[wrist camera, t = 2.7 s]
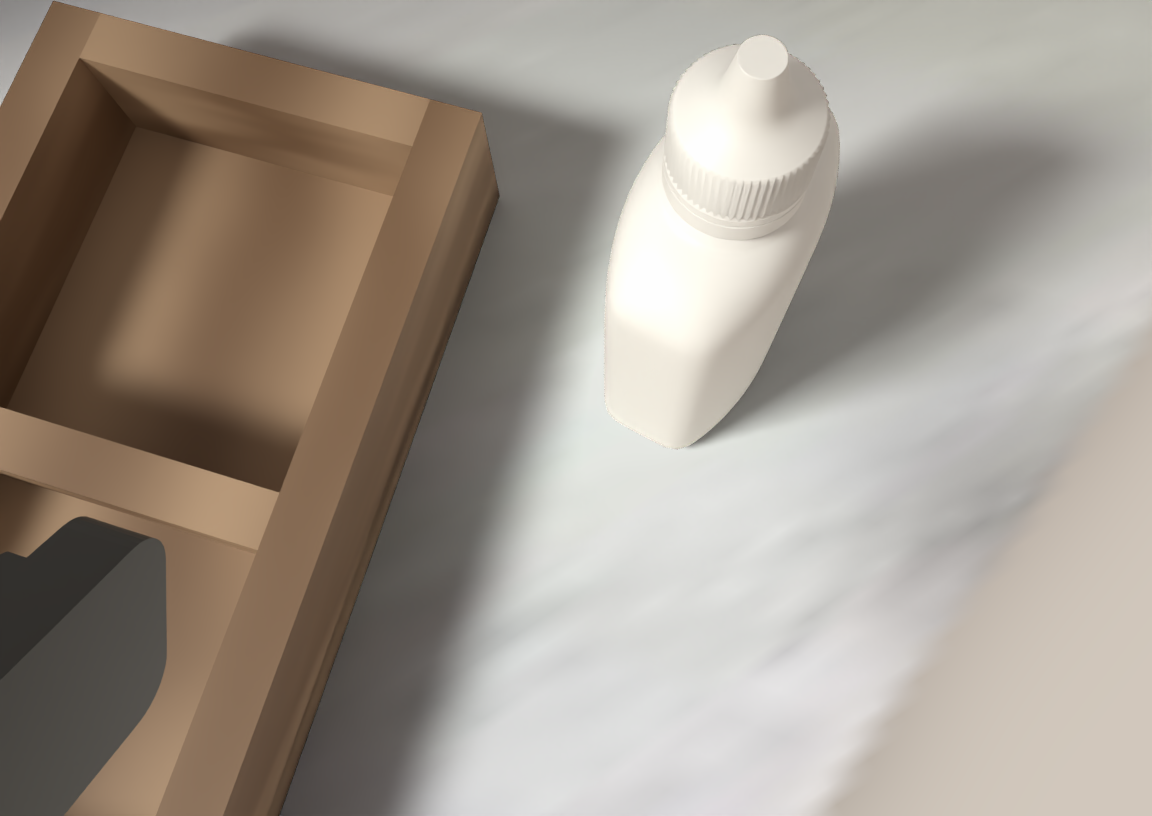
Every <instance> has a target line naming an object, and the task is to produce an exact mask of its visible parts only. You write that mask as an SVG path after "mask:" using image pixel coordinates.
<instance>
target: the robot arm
mask: <svg viewBox="0 0 1152 816" xmlns="http://www.w3.org/2000/svg"><path fill="white" fill-rule="evenodd" d="M166 659H167V613H166V553H165V549H164V546H163V544H162V542H161V541H160V540H158V539H155V538H152V537H149V536H146V535H143V534H140V533H137V532H134V531H131V530H127V529H124V528H121V527H118V526H115V525H112V524H109V523H105V522H102V521H99V520H96V519H93V518H90V517H87V516H80V517H77V518H74V519H72V520H70V521H69V522H67V523H66V524H65V525H63V526H62V527H61V528H60V529H59V530H57V531H56V532H55V533H54V534H53V535H52V536H51V537H49V538H48V539H47V540H46V541H45V542H44V543H43V544H41V545H40V546H39V547H38V548H37V549H36V550H35V551H33V552H32V553H31V554H30V555H29V556H28V557H27V558H26V557H23V556H20V555H17V554H14V553H11V552H8V551H7V552H4V553H2V554H0V816H64V815H65V814H66V812H67V811H68V810H69V809H70V807H71V806H72V805H73V804H74V802H75V801H76V800H77V799H78V797H79V796H80V795H81V794H82V793H83V791H84V790H85V789H86V788H87V786H88V785H89V784H90V783H91V781H92V780H93V779H94V778H95V776H96V775H97V774H98V773H99V772H100V770H101V769H102V768H103V767H104V765H105V764H106V763H107V762H108V760H109V759H110V758H111V757H112V755H113V754H114V753H115V752H116V751H117V749H118V748H119V747H120V746H121V744H122V743H123V742H124V741H125V739H126V738H127V737H128V736H129V734H130V733H131V732H132V731H133V729H134V728H135V727H136V726H137V725H138V723H139V722H140V721H141V719H142V718H143V717H144V715H145V713H146V712H147V710H148V709H149V707H150V705H151V703H152V702H153V700H154V697H155V695H156V693H157V691H158V688H159V686H160V683H161V680H162V677H163V674H164V670H165V665H166Z"/></svg>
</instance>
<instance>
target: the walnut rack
mask: <svg viewBox="0 0 1152 816" xmlns="http://www.w3.org/2000/svg"><path fill="white" fill-rule="evenodd" d="M498 199H499V191H498V186H497V182H496V177H495V172H494V168H493V163H492V158H491V154H490V149H489V144H488V140H487V135H486V130H485V126H484V121H483V116H482V113H481V112H477V111H473V110H469V109H465V108H462V107H458V106H454V105H450V104H446V103H443V102H439V101H435V100H431V99H427V98H423V97H420V96H416V95H412V94H408V93H404V92H400V91H397V90H393V89H389V88H385V87H381V86H377V85H374V84H370V83H366V82H362V81H358V80H355V79H351V78H347V77H343V76H339V75H335V74H332V73H328V72H324V71H320V70H316V69H312V68H309V67H305V66H301V65H297V64H293V63H289V62H286V61H282V60H278V59H274V58H270V57H267V56H263V55H259V54H255V53H251V52H247V51H244V50H240V49H236V48H232V47H228V46H224V45H221V44H217V43H213V42H209V41H205V40H202V39H198V38H194V37H190V36H186V35H182V34H179V33H175V32H171V31H167V30H163V29H159V28H156V27H152V26H148V25H144V24H140V23H136V22H133V21H129V20H125V19H121V18H117V17H114V16H110V15H106V14H102V13H98V12H94V11H91V10H87V9H83V8H79V7H75V6H71V5H68V4H64V3H60V2H56V1H53V2H52V4H51V6H50V8H49V10H48V12H47V14H46V16H45V18H44V20H43V22H42V24H41V26H40V28H39V30H38V32H37V34H36V36H35V38H34V40H33V42H32V44H31V46H30V48H29V50H28V52H27V54H26V56H25V58H24V60H23V62H22V64H21V66H20V68H19V70H18V72H17V74H16V76H15V78H14V80H13V82H12V85H11V87H10V89H9V91H8V93H7V95H6V97H5V99H4V101H3V103H2V105H1V107H0V554H2V553H4V552H7V551H8V552H11V553H14V554H17V555H20V556H23V557H26V558H27V557H28V556H29V555H30V554H31V553H32V552H33V551H35V550H36V549H37V548H38V547H39V546H40V545H41V544H43V543H44V542H45V541H46V540H47V539H48V538H49V537H51V536H52V535H53V534H54V533H55V532H56V531H57V530H59V529H60V528H61V527H62V526H63V525H65V524H66V523H67V522H69V521H70V520H72V519H74V518H77V517H80V516H87V517H90V518H93V519H96V520H99V521H102V522H105V523H109V524H112V525H115V526H118V527H121V528H124V529H127V530H131V531H134V532H137V533H140V534H143V535H146V536H149V537H152V538H155V539H158V540H160V541H161V542H162V544H163V546H164V549H165V553H166V613H167V659H166V665H165V670H164V674H163V677H162V680H161V683H160V686H159V688H158V691H157V693H156V695H155V697H154V700H153V702H152V703H151V705H150V707H149V709H148V710H147V712H146V713H145V715H144V717H143V718H142V719H141V721H140V722H139V723H138V725H137V726H136V727H135V728H134V729H133V731H132V732H131V733H130V734H129V736H128V737H127V738H126V739H125V741H124V742H123V743H122V744H121V746H120V747H119V748H118V749H117V751H116V752H115V753H114V754H113V755H112V757H111V758H110V759H109V760H108V762H107V763H106V764H105V765H104V767H103V768H102V769H101V770H100V772H99V773H98V774H97V775H96V776H95V778H94V779H93V780H92V781H91V783H90V784H89V785H88V786H87V788H86V789H85V790H84V791H83V793H82V794H81V795H80V796H79V797H78V799H77V800H76V801H75V802H74V804H73V805H72V806H71V807H70V809H69V810H68V811H67V812H66V814H65V815H64V816H279V815H280V812H281V809H282V807H283V804H284V801H285V798H286V795H287V792H288V790H289V787H290V784H291V781H292V778H293V776H294V773H295V770H296V767H297V764H298V762H299V759H300V756H301V753H302V750H303V747H304V745H305V742H306V739H307V736H308V733H309V731H310V728H311V725H312V722H313V719H314V717H315V714H316V711H317V708H318V705H319V702H320V700H321V697H322V694H323V691H324V688H325V686H326V683H327V680H328V677H329V674H330V672H331V669H332V666H333V663H334V660H335V657H336V655H337V652H338V649H339V646H340V643H341V641H342V638H343V635H344V632H345V629H346V626H347V624H348V621H349V618H350V615H351V612H352V610H353V607H354V604H355V601H356V598H357V596H358V593H359V590H360V587H361V584H362V581H363V579H364V576H365V573H366V570H367V567H368V565H369V562H370V559H371V556H372V553H373V551H374V548H375V545H376V542H377V539H378V536H379V534H380V531H381V528H382V525H383V522H384V520H385V517H386V514H387V511H388V508H389V506H390V503H391V500H392V497H393V494H394V491H395V489H396V486H397V483H398V480H399V477H400V475H401V472H402V469H403V466H404V463H405V460H406V458H407V455H408V452H409V449H410V446H411V444H412V441H413V438H414V435H415V432H416V430H417V427H418V424H419V421H420V418H421V415H422V413H423V410H424V407H425V404H426V401H427V399H428V396H429V393H430V390H431V387H432V385H433V382H434V379H435V376H436V373H437V370H438V368H439V365H440V362H441V359H442V356H443V354H444V351H445V348H446V345H447V342H448V340H449V337H450V334H451V331H452V328H453V325H454V323H455V320H456V317H457V314H458V311H459V309H460V306H461V303H462V300H463V297H464V294H465V292H466V289H467V286H468V283H469V280H470V278H471V275H472V272H473V269H474V266H475V264H476V261H477V258H478V255H479V252H480V249H481V247H482V244H483V241H484V238H485V235H486V233H487V230H488V227H489V224H490V221H491V219H492V216H493V213H494V210H495V207H496V204H497V202H498Z"/></svg>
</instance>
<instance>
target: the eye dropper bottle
mask: <svg viewBox="0 0 1152 816" xmlns="http://www.w3.org/2000/svg"><path fill="white" fill-rule="evenodd" d="M819 83H820V81H819V80H818V79H817V78H816V77H815V74H814V73H812V72H811V71H810V68H808V67H807V66H805V64H804V63H803V62H801V61H799V60H798V58H796V57H793V56H792V55H791V54H789V53H788V51H787V49H786V47H785V46H784V44H783V43H782V42H781V41H779V40H778V39H776V38H774V37H772V36H768V35H756V36H753V37H750V38H748V39H747V40H745V41H744V42H743V43H742V44H734V45H729V46H725V47H722V48H718V49H717V50H713V51H711V52H710V53H708V54H704V55H703V57H701V58H698V59H697V62H694V63H692V64H691V66H690V67H689V68H687V69H685V73H684V74H682V75H680V80H678V81H677V82H676V87H674V88H673V93H672V95H671V96H670V102H669V105H668V115H667V124H666V134H665V135H664V136H663V137H662V139H661V140H660V141H659V143H658V144H657V145H656V147H655V148H654V149H653V151H652V152H651V154H650V155H649V157H648V159H647V160H646V162H645V163H644V165H643V167H642V169H641V170H640V172H639V174H638V176H637V178H636V179H635V181H634V184H633V186H632V188H631V190H630V192H629V194H628V197H627V199H626V202H625V205H624V207H623V210H622V213H621V216H620V219H619V222H618V225H617V229H616V232H615V236H614V240H613V245H612V250H611V256H610V262H609V267H608V273H607V282H606V295H605V322H604V397H605V404H606V408H607V412H608V414H609V415H610V416H611V417H612V418H613V419H614V420H615V421H617V422H618V423H620V424H622V425H623V426H625V427H627V428H629V429H630V430H632V431H634V432H636V433H638V434H640V435H642V436H644V437H646V438H647V439H649V440H651V441H653V442H655V443H657V444H659V445H661V446H663V447H667V448H672V449H676V450H677V449H680V448H684V447H687V446H689V445H691V444H692V443H694V442H695V441H697V440H698V439H700V438H701V437H702V436H704V435H705V434H706V433H707V432H708V431H710V430H711V429H712V428H713V427H714V426H715V425H716V424H717V423H719V422H720V421H721V420H722V419H723V418H724V416H725V415H726V414H727V413H728V412H729V411H730V410H731V409H732V408H733V407H734V405H735V404H736V403H737V402H738V401H739V399H740V398H741V397H742V395H743V394H744V393H745V391H746V390H747V388H748V387H749V385H750V384H751V382H752V381H753V379H754V377H755V376H756V374H757V372H758V371H759V369H760V367H761V365H762V363H763V361H764V359H765V357H766V355H767V353H768V350H769V348H770V346H771V344H772V342H773V340H774V337H775V335H776V333H777V331H778V329H779V327H780V324H781V322H782V320H783V318H784V316H785V314H786V311H787V309H788V307H789V305H790V303H791V301H792V298H793V296H794V294H795V292H796V290H797V288H798V285H799V283H800V281H801V279H802V277H803V275H804V272H805V270H806V268H807V266H808V264H809V261H810V259H811V257H812V255H813V253H814V250H815V248H816V246H817V243H818V241H819V239H820V236H821V234H822V231H823V229H824V226H825V224H826V221H827V218H828V215H829V212H830V209H831V205H832V201H833V197H834V193H835V188H836V182H837V177H838V168H839V152H840V142H839V129H838V125H837V122H836V120H835V117H834V115H833V113H832V112H831V111H830V108H829V107H828V104H829V101H828V100H827V99H826V96H827V94H826V93H825V92H824V91H823V89H824V87H823V86H821V85H820V84H819Z"/></svg>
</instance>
